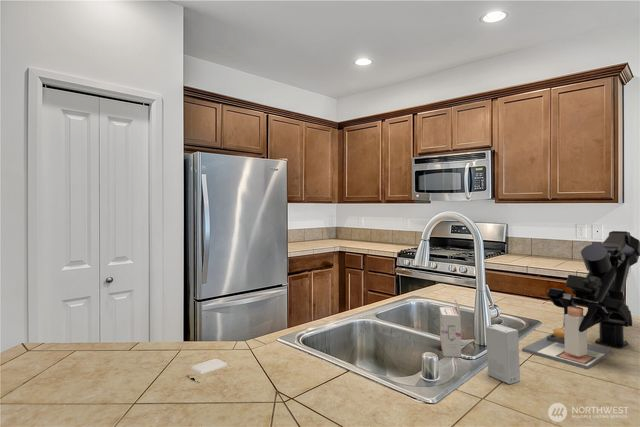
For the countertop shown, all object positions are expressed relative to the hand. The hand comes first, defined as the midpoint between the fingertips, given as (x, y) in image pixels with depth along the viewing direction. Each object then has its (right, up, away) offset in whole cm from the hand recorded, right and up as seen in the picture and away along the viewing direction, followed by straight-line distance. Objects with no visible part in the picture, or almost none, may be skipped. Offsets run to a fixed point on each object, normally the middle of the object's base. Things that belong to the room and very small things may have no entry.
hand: (572, 329), depth 100 cm
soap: (-95, -11, -4) cm, 95 cm away
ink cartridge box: (-29, -9, +8) cm, 32 cm away
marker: (+1, -7, +1) cm, 7 cm away
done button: (+6, -6, +13) cm, 16 cm away
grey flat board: (+3, -8, +7) cm, 11 cm away
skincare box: (-23, -9, -9) cm, 26 cm away
